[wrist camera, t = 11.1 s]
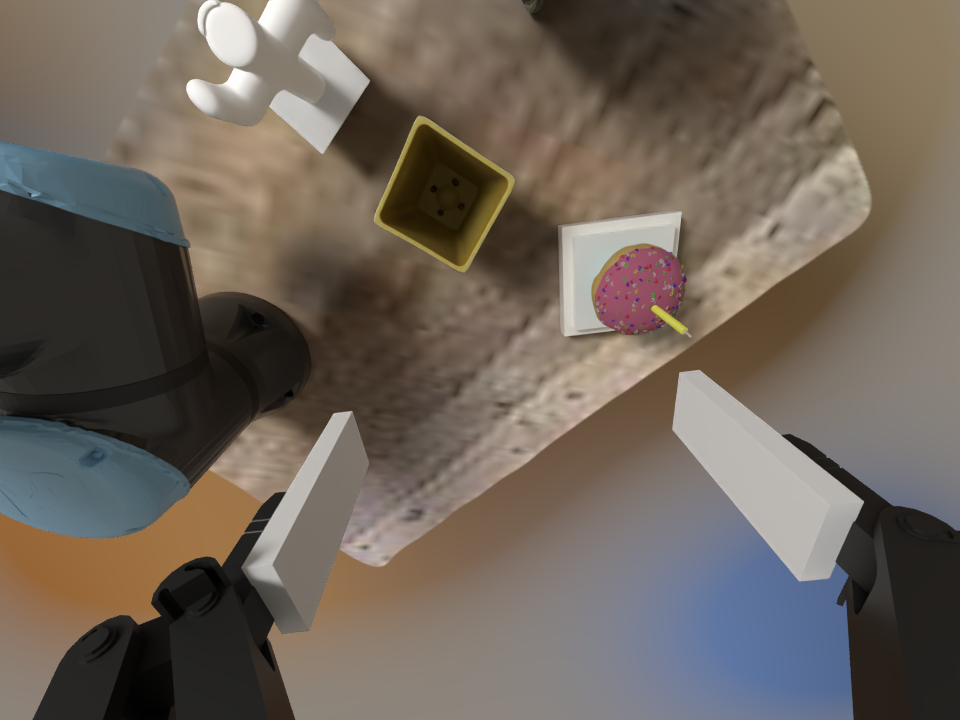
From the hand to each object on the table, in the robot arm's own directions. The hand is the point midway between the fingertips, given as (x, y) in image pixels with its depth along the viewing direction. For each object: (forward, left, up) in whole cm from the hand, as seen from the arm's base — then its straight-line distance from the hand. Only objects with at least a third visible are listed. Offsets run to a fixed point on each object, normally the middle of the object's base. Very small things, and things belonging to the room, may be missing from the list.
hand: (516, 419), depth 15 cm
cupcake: (+14, -2, -26) cm, 29 cm away
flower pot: (-3, +8, -29) cm, 30 cm away
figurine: (-13, +18, -29) cm, 36 cm away
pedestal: (+14, -2, -29) cm, 32 cm away
